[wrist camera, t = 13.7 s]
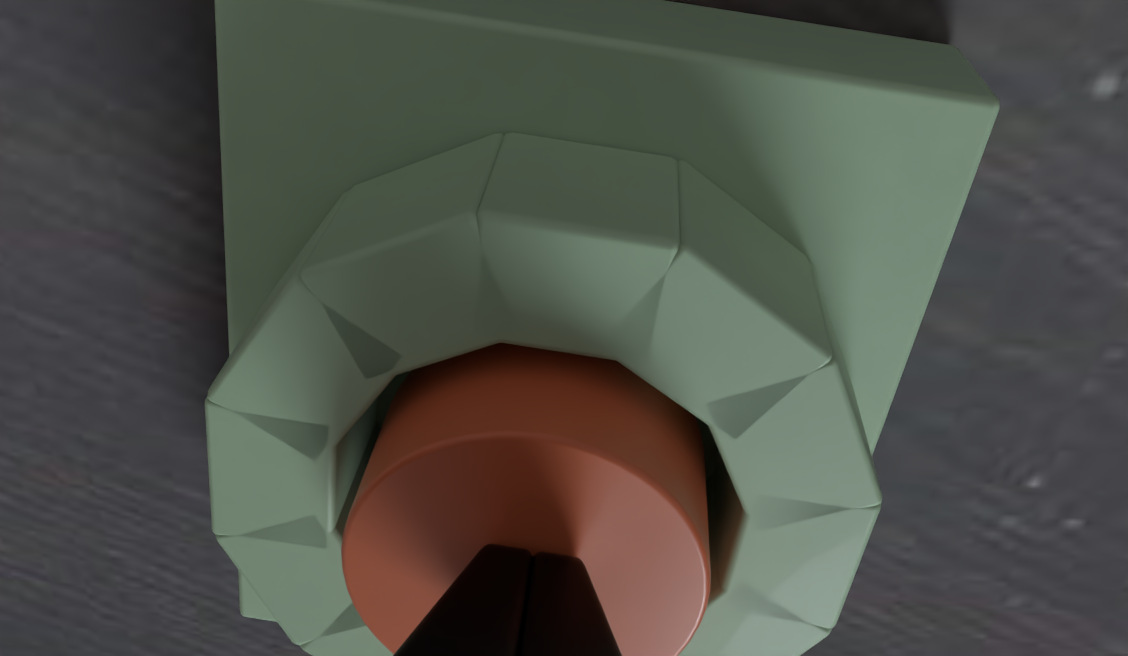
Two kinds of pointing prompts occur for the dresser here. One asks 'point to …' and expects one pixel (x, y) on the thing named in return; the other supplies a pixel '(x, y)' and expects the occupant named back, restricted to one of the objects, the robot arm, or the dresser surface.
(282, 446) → the button block
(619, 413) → the button
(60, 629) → the dresser surface
